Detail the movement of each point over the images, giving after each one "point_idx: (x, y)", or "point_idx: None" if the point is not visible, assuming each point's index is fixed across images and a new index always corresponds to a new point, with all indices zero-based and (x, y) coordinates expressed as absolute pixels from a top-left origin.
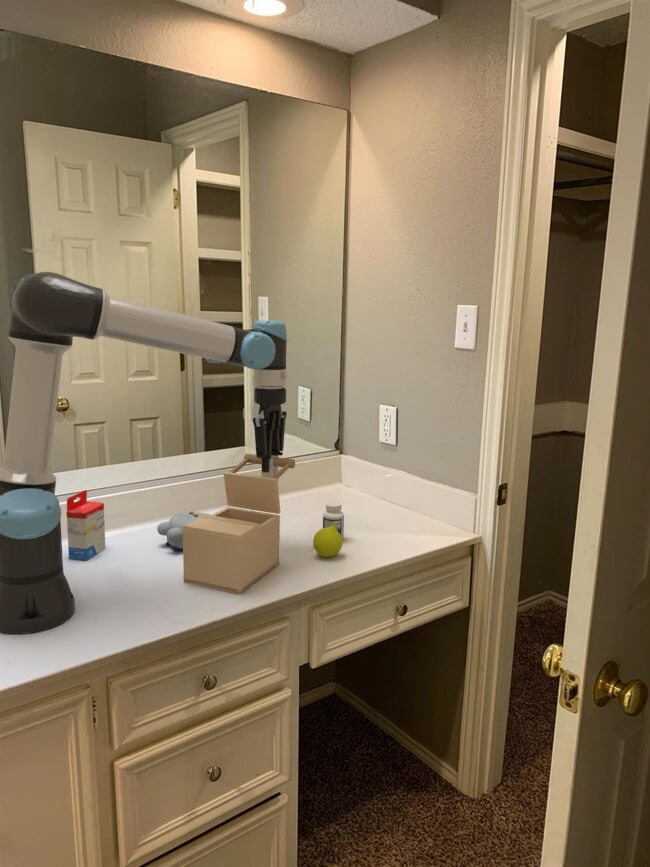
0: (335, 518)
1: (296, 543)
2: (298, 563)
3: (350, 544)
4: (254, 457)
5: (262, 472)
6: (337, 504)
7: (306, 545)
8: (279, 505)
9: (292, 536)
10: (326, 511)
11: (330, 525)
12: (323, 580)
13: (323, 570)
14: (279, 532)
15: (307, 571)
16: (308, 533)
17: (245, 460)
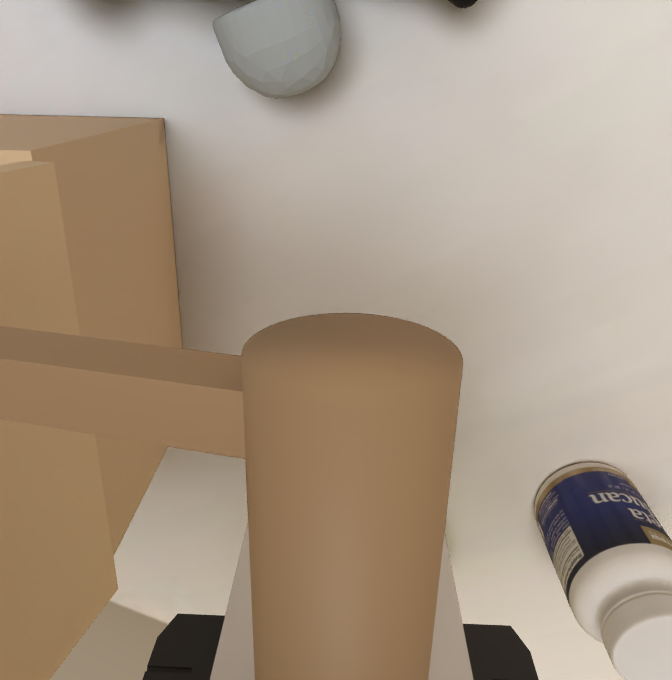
0: (576, 619)
1: (478, 373)
2: (244, 468)
3: (550, 574)
4: (259, 609)
5: (238, 578)
6: (659, 672)
7: (468, 423)
8: (77, 633)
9: (574, 316)
10: (631, 583)
11: (558, 568)
12: (141, 593)
13: (227, 567)
14: (136, 505)
15: (186, 524)
16: (647, 372)
17: (152, 429)
